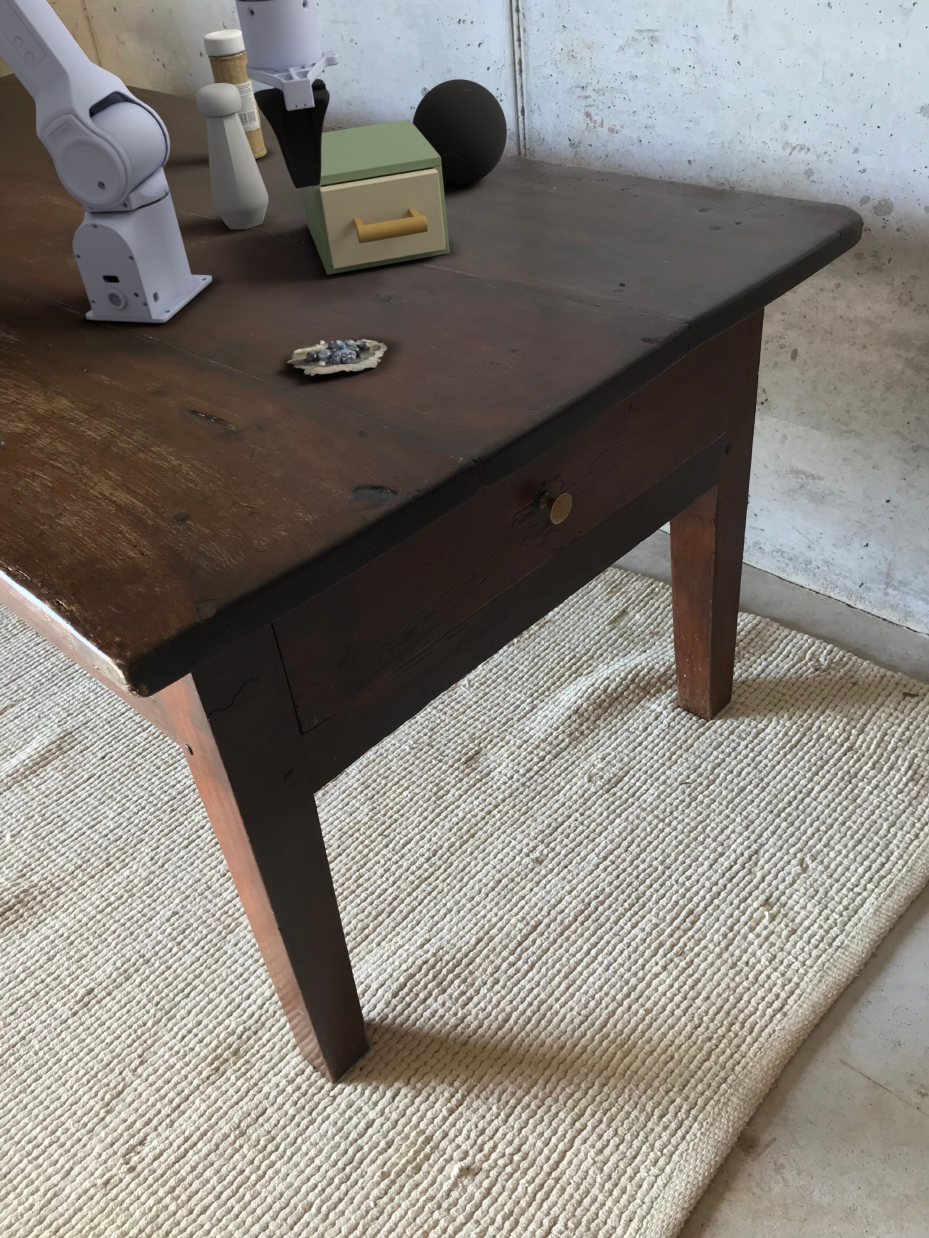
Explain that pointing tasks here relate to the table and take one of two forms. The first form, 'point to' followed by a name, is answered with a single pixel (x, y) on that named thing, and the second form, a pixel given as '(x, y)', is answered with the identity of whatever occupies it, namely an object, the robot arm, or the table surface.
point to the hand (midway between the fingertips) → (307, 184)
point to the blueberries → (338, 356)
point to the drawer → (383, 217)
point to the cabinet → (369, 174)
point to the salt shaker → (231, 159)
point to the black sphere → (463, 129)
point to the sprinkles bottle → (236, 80)
